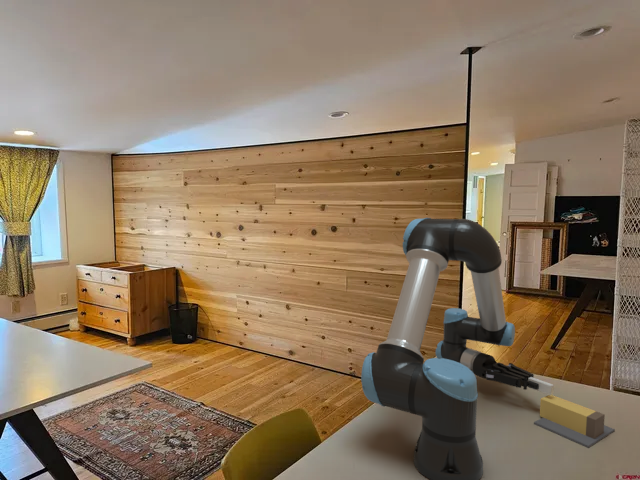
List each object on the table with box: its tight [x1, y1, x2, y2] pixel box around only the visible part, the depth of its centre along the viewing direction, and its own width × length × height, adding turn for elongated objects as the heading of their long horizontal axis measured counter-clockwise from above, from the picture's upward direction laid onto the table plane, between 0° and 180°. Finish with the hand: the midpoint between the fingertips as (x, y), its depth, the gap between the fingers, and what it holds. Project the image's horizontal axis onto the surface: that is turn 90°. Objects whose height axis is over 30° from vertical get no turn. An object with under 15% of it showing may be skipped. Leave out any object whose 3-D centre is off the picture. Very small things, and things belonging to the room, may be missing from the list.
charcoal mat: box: [533, 417, 616, 449], centre depth 115 cm, size 14×14×1 cm
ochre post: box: [539, 394, 606, 439], centre depth 115 cm, size 5×5×14 cm
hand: (552, 390), depth 119 cm, fingers closed
